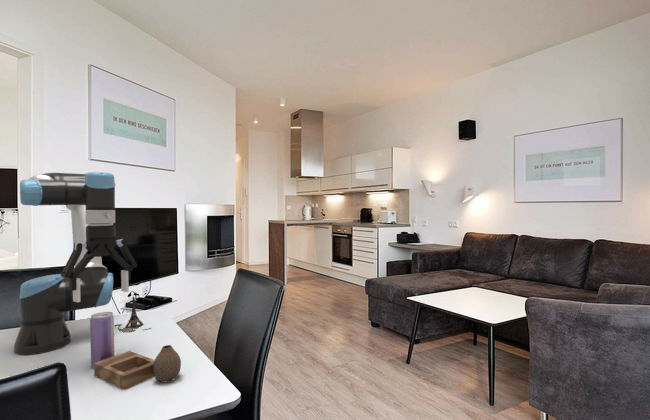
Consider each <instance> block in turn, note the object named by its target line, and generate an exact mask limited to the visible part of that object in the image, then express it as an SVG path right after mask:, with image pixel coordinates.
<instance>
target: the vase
mask: <svg viewBox="0 0 650 420" xmlns="http://www.w3.org/2000/svg"><path fill="white" fill-rule="evenodd" d="M154 360H155V361H154V365H153V372H154V375H155V377H154V378H155V379H156V380H157V381H159V382H161V383H168V382H172V381H174V380H176V378H177V377H178V375H179V374H180V371H181V367H182V361H181V357H180V355H179V353H178V352H177V350H175V349H174V348H173V346H172V345H171V344H166V345H163V346H162V347H161V349H160V351H159V352H158V353H157V355H156V356H155V359H154Z"/></svg>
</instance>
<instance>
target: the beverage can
mask: <svg viewBox="0 0 650 420" xmlns="http://www.w3.org/2000/svg"><path fill="white" fill-rule="evenodd" d="M114 317H115V316H114V313H113V312H112V311H101V312H96V313H93V314H91V316H90V319H89V323H90V324H89V327H90V329H89V332H90V335H89V336H90V339H89V340H90V365H91V367H92V368H93V369H94V363H96V362H99V361H102V360H105V359H107V358H110V357H113V356H115V326H114V325H115V318H114Z"/></svg>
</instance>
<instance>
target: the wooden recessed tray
mask: <svg viewBox="0 0 650 420" xmlns="http://www.w3.org/2000/svg"><path fill="white" fill-rule="evenodd" d="M154 361H155V359H153V358H150V357H148V356H145V355H142V354H139V353H137V352H134V351H131V350H129V351H125V352H123V353H120V354H116V355H114V356H113V357H110V358H107V359H105V360H102V361H99V362H96V363H94V368H93V373H94V374H93V376H94V377H96V378H99V379H100V380H103V381H104V382H106V383H108V384H111V385H113V386H114V387H118V388H119V389H121V390H126V389H129V388H131V387H134V386H135V385H138V384H140V383H143V382H145V381H147V380H151V379H152V378H156V377H155V375H154V372H153V365H154Z"/></svg>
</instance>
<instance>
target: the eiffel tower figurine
mask: <svg viewBox="0 0 650 420" xmlns="http://www.w3.org/2000/svg"><path fill="white" fill-rule="evenodd" d="M131 308H132V309H131V313H130V317H129V319H128V321H127V324H126V325H125V327H122V324H121V323H120V324H114V328H116V326H119V327H118V329H117V330H118V331H119V332H120V331H122V332H123V333H124V334H125V333H127V334H128V333H134V332H136V331H137V330H138V329H139V327H140V328H142V326H144V325H145V323H143V321H141V319H140V317H138V314H137V311H136V303H135V296H134V294H133V295H132V307H131ZM120 327H122V328H123V329H119V328H120ZM133 329H134V330H133ZM149 329H152V328H151V327H149ZM149 329H148V328H145V329H141V331H142V330H143V331H146V330H149ZM122 332H121V333H122Z"/></svg>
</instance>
